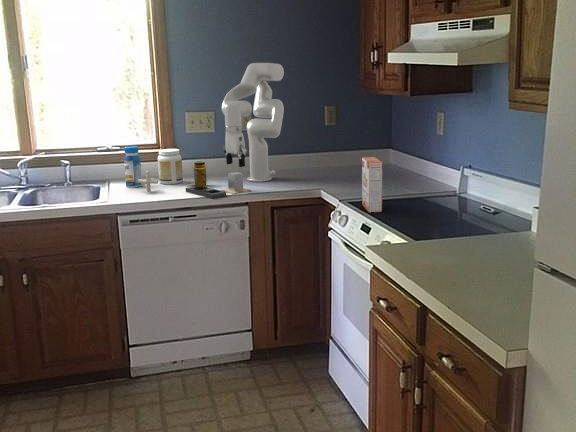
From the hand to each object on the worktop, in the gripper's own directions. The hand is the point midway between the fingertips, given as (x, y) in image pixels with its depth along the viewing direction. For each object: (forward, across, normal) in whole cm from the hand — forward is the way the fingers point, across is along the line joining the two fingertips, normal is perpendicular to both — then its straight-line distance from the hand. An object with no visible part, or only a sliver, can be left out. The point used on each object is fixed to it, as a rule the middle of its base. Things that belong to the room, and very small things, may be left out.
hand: (235, 165), depth 312 cm
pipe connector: (+12, +29, +31) cm, 44 cm away
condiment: (+13, +23, +6) cm, 27 cm away
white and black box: (+12, -1, +1) cm, 12 cm away
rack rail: (+12, +4, +15) cm, 20 cm away
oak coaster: (+12, -1, +1) cm, 12 cm away
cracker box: (+12, -72, -16) cm, 74 cm away
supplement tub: (+13, +41, +11) cm, 45 cm away
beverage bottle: (+12, +47, +29) cm, 57 cm away
